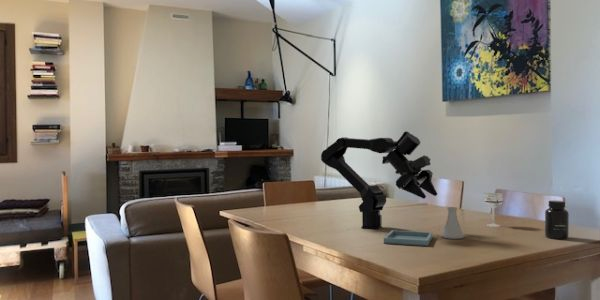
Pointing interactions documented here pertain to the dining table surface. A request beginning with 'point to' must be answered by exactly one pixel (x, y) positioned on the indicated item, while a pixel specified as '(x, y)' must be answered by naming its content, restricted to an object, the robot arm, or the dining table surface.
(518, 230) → the dining table surface
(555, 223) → the supplement bottle
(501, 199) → the wineglass
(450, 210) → the flask
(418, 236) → the tray
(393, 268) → the dining table surface
